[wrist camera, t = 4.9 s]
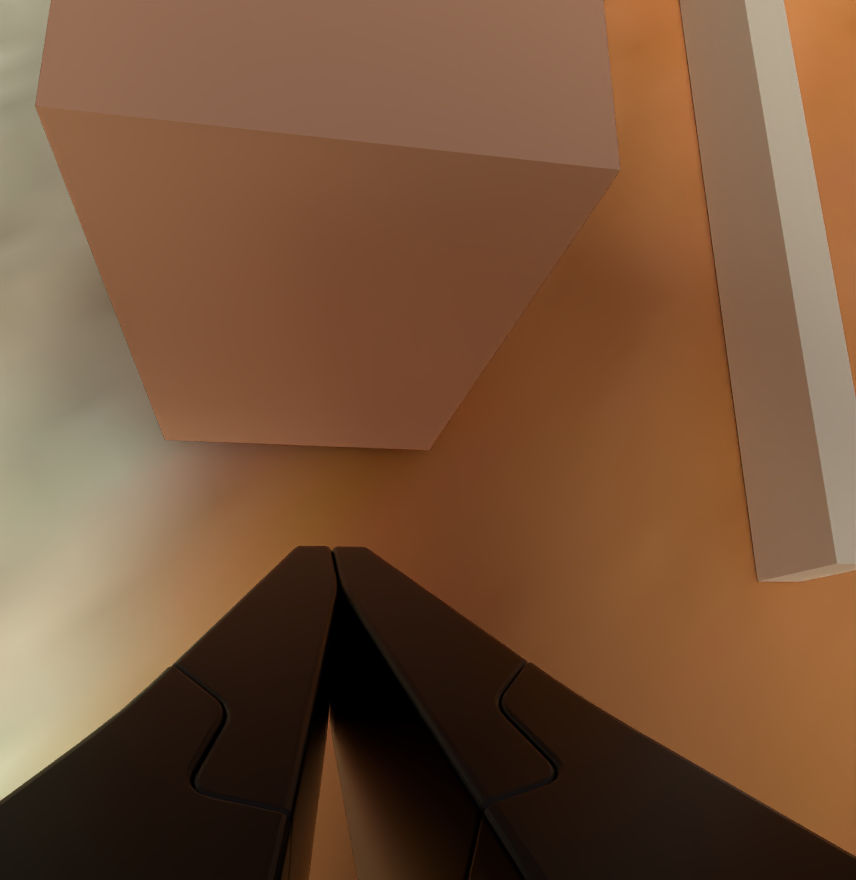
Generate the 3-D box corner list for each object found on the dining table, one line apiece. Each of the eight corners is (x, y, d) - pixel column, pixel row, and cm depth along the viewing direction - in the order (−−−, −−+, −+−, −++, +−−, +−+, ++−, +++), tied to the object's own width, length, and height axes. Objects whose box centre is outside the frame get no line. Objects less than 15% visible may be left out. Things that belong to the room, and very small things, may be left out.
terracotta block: (428, 450, 19) (621, 169, 9) (165, 439, 18) (34, 106, 8) (425, 227, 21) (580, -222, 11) (184, 205, 20) (99, -319, 10)
